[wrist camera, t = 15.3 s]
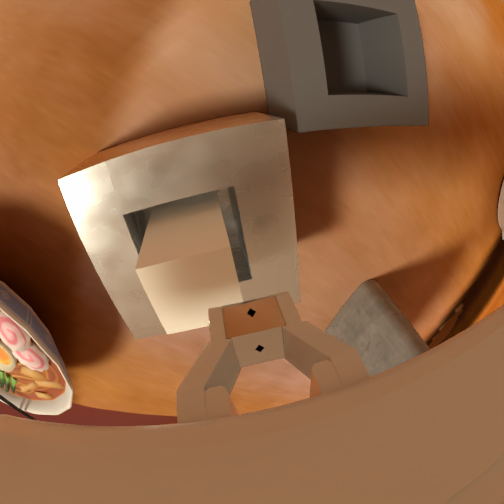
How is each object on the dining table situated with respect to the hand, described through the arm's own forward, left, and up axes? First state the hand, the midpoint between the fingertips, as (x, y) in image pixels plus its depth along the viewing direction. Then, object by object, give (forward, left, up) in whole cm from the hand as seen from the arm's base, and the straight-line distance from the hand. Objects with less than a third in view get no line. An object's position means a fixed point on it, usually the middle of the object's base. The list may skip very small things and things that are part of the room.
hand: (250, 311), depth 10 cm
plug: (+2, 0, -12) cm, 12 cm away
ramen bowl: (+28, +6, -13) cm, 32 cm away
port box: (+2, 0, -13) cm, 13 cm away
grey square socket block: (-10, -10, -13) cm, 19 cm away
